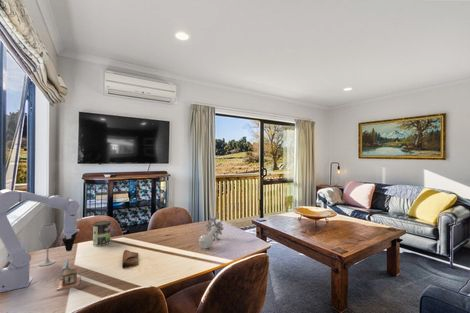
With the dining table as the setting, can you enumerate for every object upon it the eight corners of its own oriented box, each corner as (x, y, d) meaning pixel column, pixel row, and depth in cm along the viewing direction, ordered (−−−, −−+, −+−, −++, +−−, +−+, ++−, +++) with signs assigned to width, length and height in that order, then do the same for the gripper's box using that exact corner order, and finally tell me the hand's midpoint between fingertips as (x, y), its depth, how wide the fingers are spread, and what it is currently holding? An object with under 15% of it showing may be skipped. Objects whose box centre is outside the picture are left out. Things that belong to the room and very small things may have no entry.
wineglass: (41, 261, 125) (42, 223, 125) (58, 258, 128) (58, 222, 128) (35, 267, 118) (36, 227, 118) (53, 264, 121) (54, 226, 121)
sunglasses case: (139, 265, 122) (133, 256, 120) (127, 274, 119) (120, 264, 117) (138, 252, 138) (132, 244, 136) (127, 260, 135) (121, 251, 134)
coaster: (56, 290, 98) (56, 289, 98) (59, 282, 104) (59, 280, 104) (78, 285, 102) (79, 284, 102) (80, 277, 109) (80, 276, 109)
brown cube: (62, 286, 100) (62, 275, 100) (63, 281, 104) (64, 270, 104) (75, 283, 102) (76, 272, 102) (76, 278, 107) (77, 267, 107)
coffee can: (113, 240, 157) (113, 220, 157) (104, 246, 147) (104, 225, 147) (98, 240, 157) (99, 220, 157) (89, 246, 147) (89, 224, 147)
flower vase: (210, 260, 144) (224, 237, 167) (213, 236, 139) (226, 216, 162) (192, 254, 147) (208, 232, 170) (194, 230, 142) (210, 211, 165)
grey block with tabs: (59, 281, 105) (60, 269, 105) (63, 270, 116) (63, 259, 116) (67, 279, 107) (67, 267, 107) (70, 268, 117) (70, 258, 117)
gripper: (78, 225, 114) (78, 251, 114) (80, 218, 126) (79, 242, 126) (61, 227, 110) (60, 254, 110) (64, 220, 123) (64, 244, 122)
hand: (69, 248), depth 118 cm, fingers open, 7 cm apart
